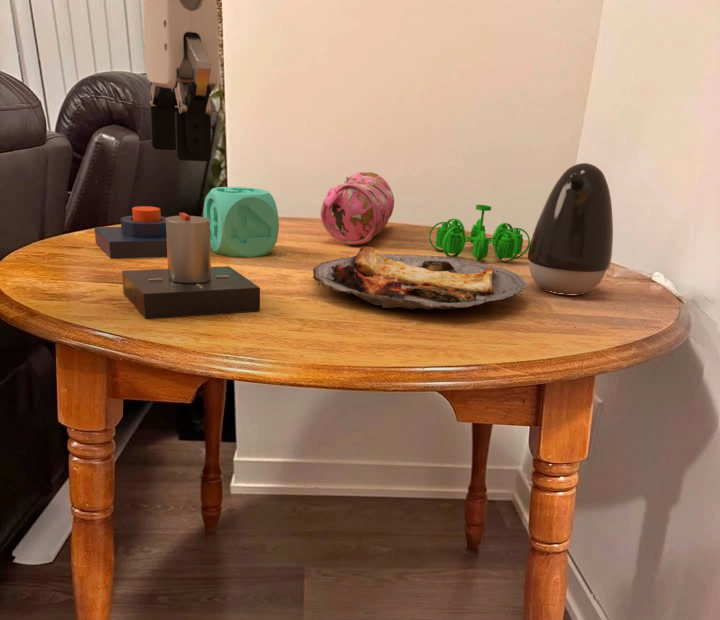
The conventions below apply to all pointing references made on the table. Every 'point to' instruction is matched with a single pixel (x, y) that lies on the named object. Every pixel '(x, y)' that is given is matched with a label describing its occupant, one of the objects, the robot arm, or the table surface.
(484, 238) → the chandelier
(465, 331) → the table surface
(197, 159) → the robot arm
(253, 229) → the decorative dice
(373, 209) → the pencil case
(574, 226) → the black egg-shaped diffuser
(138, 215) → the button
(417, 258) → the food plate
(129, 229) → the button box
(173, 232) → the knob
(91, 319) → the table surface
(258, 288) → the knob console
